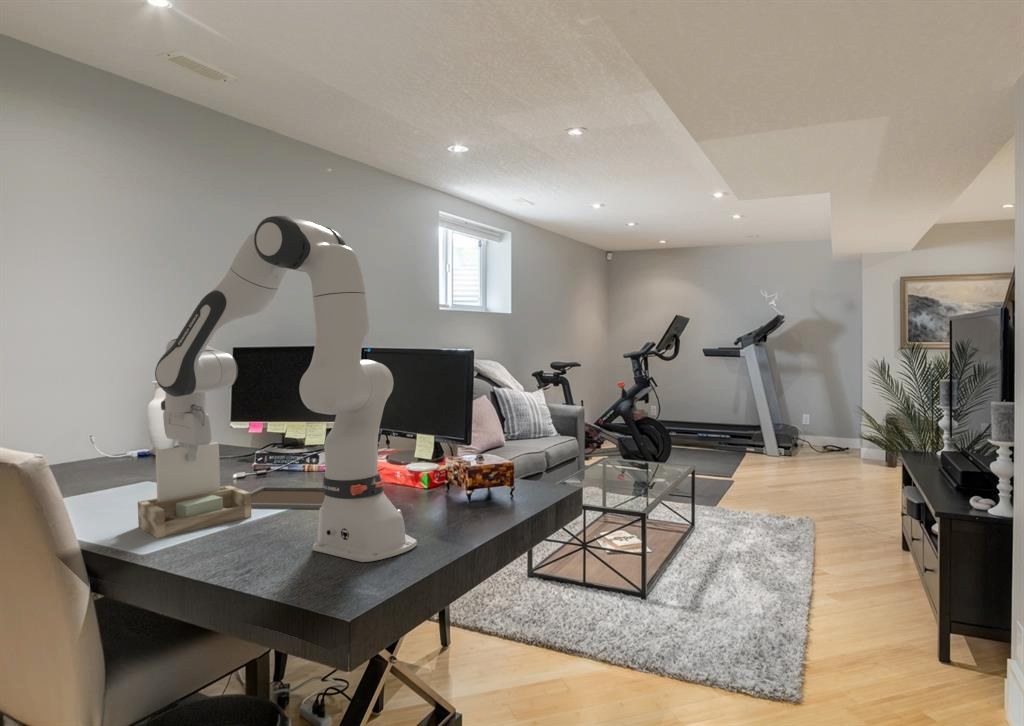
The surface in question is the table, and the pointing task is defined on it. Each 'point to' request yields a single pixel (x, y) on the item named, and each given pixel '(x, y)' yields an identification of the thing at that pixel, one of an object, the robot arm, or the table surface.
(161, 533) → the rack
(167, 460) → the off-white rectangular board
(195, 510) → the offcut top
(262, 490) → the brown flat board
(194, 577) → the table surface
